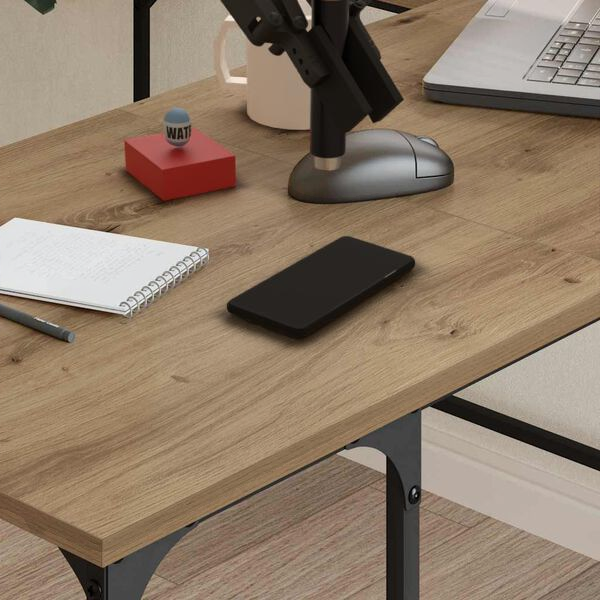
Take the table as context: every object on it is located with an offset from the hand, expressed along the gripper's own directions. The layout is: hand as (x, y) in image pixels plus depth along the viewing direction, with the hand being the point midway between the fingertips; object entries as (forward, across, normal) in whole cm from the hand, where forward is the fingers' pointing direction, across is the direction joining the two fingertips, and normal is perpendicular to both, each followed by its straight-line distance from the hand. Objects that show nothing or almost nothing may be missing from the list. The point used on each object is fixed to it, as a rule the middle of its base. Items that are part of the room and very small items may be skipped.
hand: (372, 116), depth 91 cm
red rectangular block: (-10, -10, -33) cm, 36 cm away
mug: (-14, -29, -37) cm, 49 cm away
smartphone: (+7, -3, -16) cm, 17 cm away
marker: (0, 0, -6) cm, 6 cm away
